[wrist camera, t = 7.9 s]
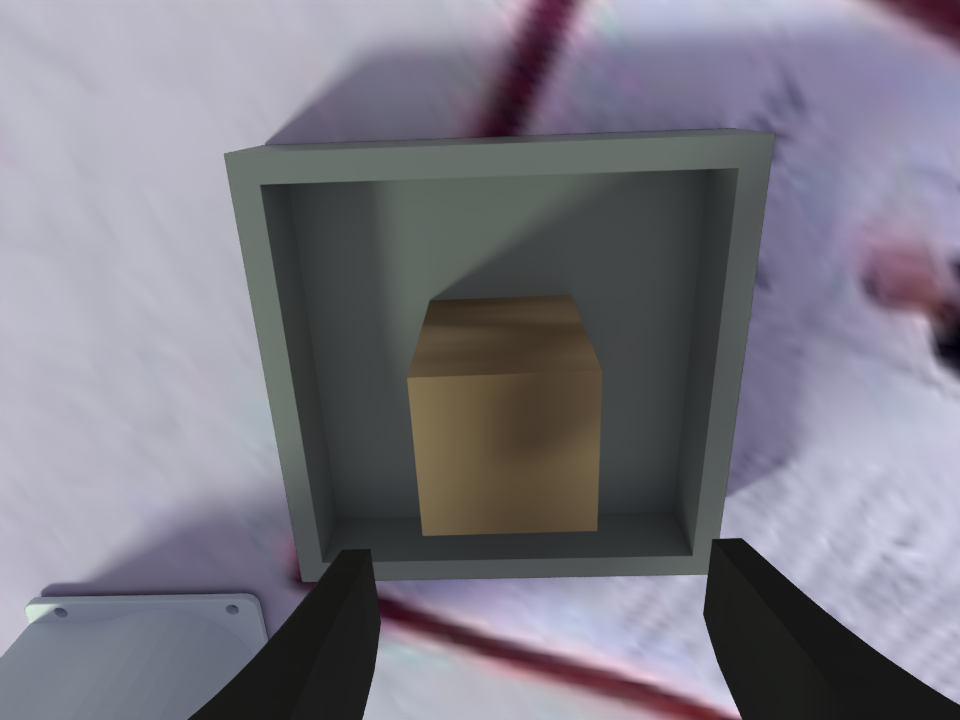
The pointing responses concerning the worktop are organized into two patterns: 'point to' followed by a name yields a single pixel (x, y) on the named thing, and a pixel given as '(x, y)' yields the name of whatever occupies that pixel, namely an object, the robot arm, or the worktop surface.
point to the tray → (495, 274)
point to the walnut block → (505, 417)
